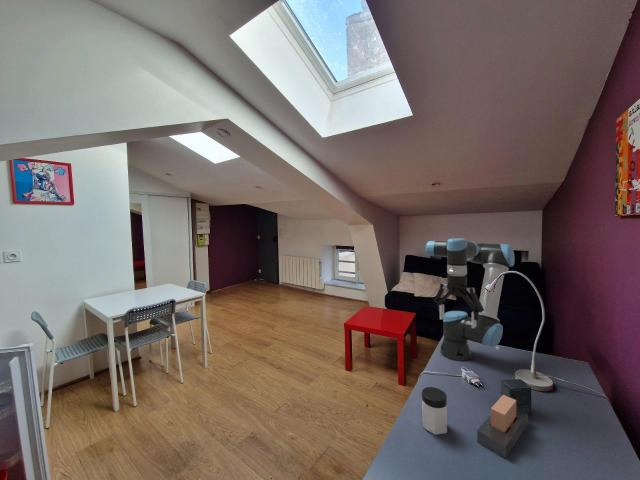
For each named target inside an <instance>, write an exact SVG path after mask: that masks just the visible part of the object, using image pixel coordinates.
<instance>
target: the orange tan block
mask: <svg viewBox="0 0 640 480" xmlns="http://www.w3.org/2000/svg"><path fill="white" fill-rule="evenodd" d="M490 415H491V426H493V427H494V428H496V429H498V430H500V431H502V432H504V433H506V434H507V429H508V427H509V426H510V425H511V423H514V422H515V418H516V400H515V399H512V398H510V397H507V396H505V395H502V396H500V397H499V398H498V400H497V401H496V402H495V403H494V404H493V406H492V407H490Z"/></svg>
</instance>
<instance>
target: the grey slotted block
mask: <svg viewBox="0 0 640 480" xmlns="http://www.w3.org/2000/svg"><path fill="white" fill-rule="evenodd" d="M528 424H529V414H528V412H525V411H523V410H521V409H518V408H516V418H515V422H514V423H511V425H510V426H509V427H508V429H507V434H506V433H504V432H502V431H500V430H498V429H496V428H494V427H493V426H491V414H490V415H489V416H488V417H487V418H486V419H485V421H484V422H483V423H482V425H481V426H480V427H479V428H478V429H477V431H476V432H477V434H476V435H477V437H476V438H477V439H476V440H477V443H478V444H480V445H481V446H484V447H485V448H486V449H489V450H490V451H492V452H494V453H495V454H497V455H499V456H501V457H502V458H504V459H506V458H508V455H509V454H510V452H511V451H512V450H513V448H514V446H515V444H516V443H517V441H518V440H519V438H520V437H521V435H522V434H523V432H524V430H525V429H526V428H527V426H528Z"/></svg>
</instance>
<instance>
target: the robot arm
mask: <svg viewBox="0 0 640 480" xmlns="http://www.w3.org/2000/svg"><path fill="white" fill-rule="evenodd" d="M425 252H426V254H427V255H428V256H432V257H443V258H446V259H447V262H446V263H447V265H446V268H447V269H446V272H447V275H446V277H447V278H446V283H445V282H442V283H440V284H439V290H437V293H436V295H435V296H434V298H433V303H436V304H437V312H439V320H442V322H443V339H442V342H441V345H440V348H439V349H440V354H441V355H442V356H443V357H444V358H447V359H450V360H452V361H458V362H460V361H461V362H463V361H464V362H465V361H469V360H470V359H472V351H471V348H470V344H469V341H471V342H474V343H477V344H480V345H483V346H487V347H488V346H489V347H491V348H492V347H496V346H497V345H499V343H500V341H501V340H502V338H503V333H504V332H503V330H504V327H503V325H502V324H501V323H500V322H501V321H500V319H499V317H498V313H499V312H498V311H499V307H500V306H499V305H500V299H501V295H502V294H501V293H502V289H503V282H504V278H505V274H504V275H502V276H501V277H500V278H499V279H498V280H497V283H496V285H495V289H494V292H489V291H487V290H486V289H485V286H486V285H488V284H490V283H492V282H493V281H494V280H495V279H496V278H497V277H498V276H499V275H500V274H501V273H503V272H505V273H506V272H508V271H509V269H510V267H514V265H515V251H514V248H513V247H512V245H510V244H508V243H507V244H505V243H483V242H482V243H480V242H479V243H478V242H475V241H473V240H469V241H468V240H467V239H465V238H459V237H458V238H456V237H455V238H449V239H447V240H429V241H427V242H426V244H425ZM468 262H471V263H473V264H474V263H475V264H479V265H482V266H483V268H484V275H483V280H482V285H481V290H480V296H479V297H478V294H477V293H476V288H475V287H468V277H467V276H468V264H467V263H468ZM446 289H447V290H448V291H447V292H446V293H445V294H444V295H443V293H444V292H445V290H446ZM467 292H468V293H467ZM442 295H443V296H442ZM469 295H470V296H469ZM450 296H454V297H457V298H460V297H461V298H462V299H463V300H464V301H465V302H466V304H467V305H468V306H469V308H470V309H471V310H472V312H471V317H470V316H469V315H468V313H467V312H466V311H461V310H451V311H450V310H449V311H447V312H445V304H444V302H445V301H446V300H447V299H448V298H450Z"/></svg>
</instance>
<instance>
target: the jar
mask: <svg viewBox="0 0 640 480" xmlns="http://www.w3.org/2000/svg"><path fill="white" fill-rule="evenodd" d="M447 398H448V396H447V394H446V392H445V391H443V390H442V389H440V388H437V387H433V386H428V387H424V388H423V389H422V390H421V400H422V403H421V415H422V428H423V429H425V430H426V431H428V432H430V433H431V434H433V435H435V436H436V435H442V434H447V433H448V420H447V418H448V410H447V409H448V405H447V404H448V401H447Z"/></svg>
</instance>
